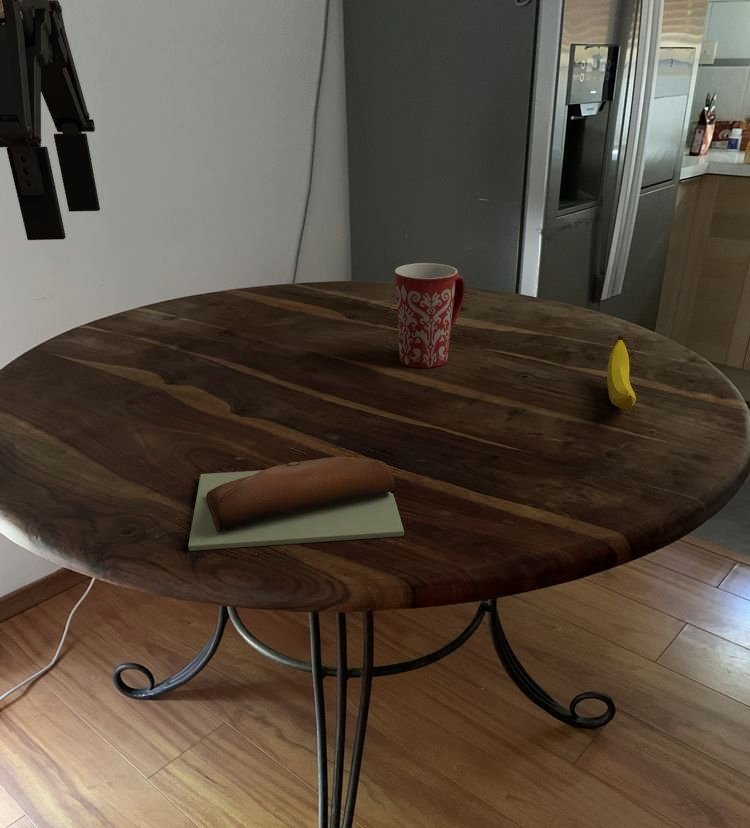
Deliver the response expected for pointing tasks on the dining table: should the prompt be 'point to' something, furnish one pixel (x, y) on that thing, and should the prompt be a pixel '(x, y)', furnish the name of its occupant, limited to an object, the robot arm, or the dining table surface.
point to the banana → (620, 377)
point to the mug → (427, 311)
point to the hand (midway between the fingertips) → (67, 224)
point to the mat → (295, 521)
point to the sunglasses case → (297, 489)
